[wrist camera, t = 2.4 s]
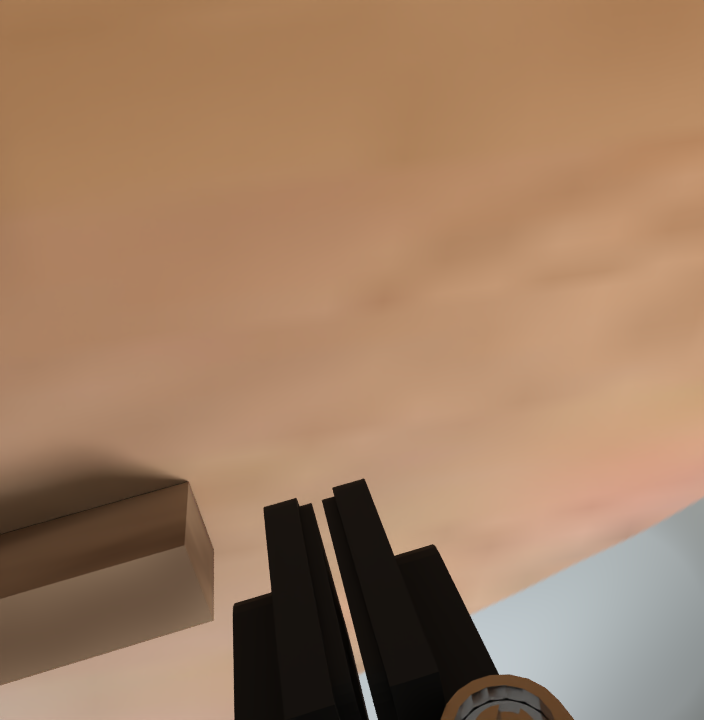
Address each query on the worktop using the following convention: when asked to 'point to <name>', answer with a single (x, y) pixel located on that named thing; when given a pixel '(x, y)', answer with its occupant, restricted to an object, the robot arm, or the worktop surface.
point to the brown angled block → (103, 581)
